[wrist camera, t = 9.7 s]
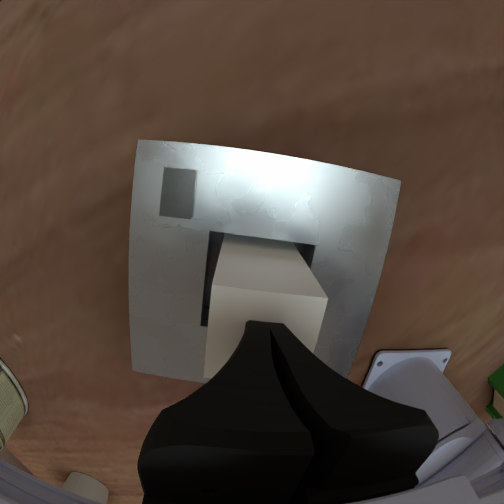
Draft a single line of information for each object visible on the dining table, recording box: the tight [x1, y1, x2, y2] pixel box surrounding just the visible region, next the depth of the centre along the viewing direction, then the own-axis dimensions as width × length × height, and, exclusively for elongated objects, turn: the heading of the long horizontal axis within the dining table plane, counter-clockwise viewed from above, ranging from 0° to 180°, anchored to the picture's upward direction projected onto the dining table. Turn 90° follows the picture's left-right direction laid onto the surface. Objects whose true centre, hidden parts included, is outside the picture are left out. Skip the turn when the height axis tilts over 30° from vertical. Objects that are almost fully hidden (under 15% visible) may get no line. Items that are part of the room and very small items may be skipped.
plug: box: [203, 233, 328, 379], centre depth 15 cm, size 4×4×8 cm
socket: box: [129, 140, 401, 383], centre depth 17 cm, size 14×14×3 cm
